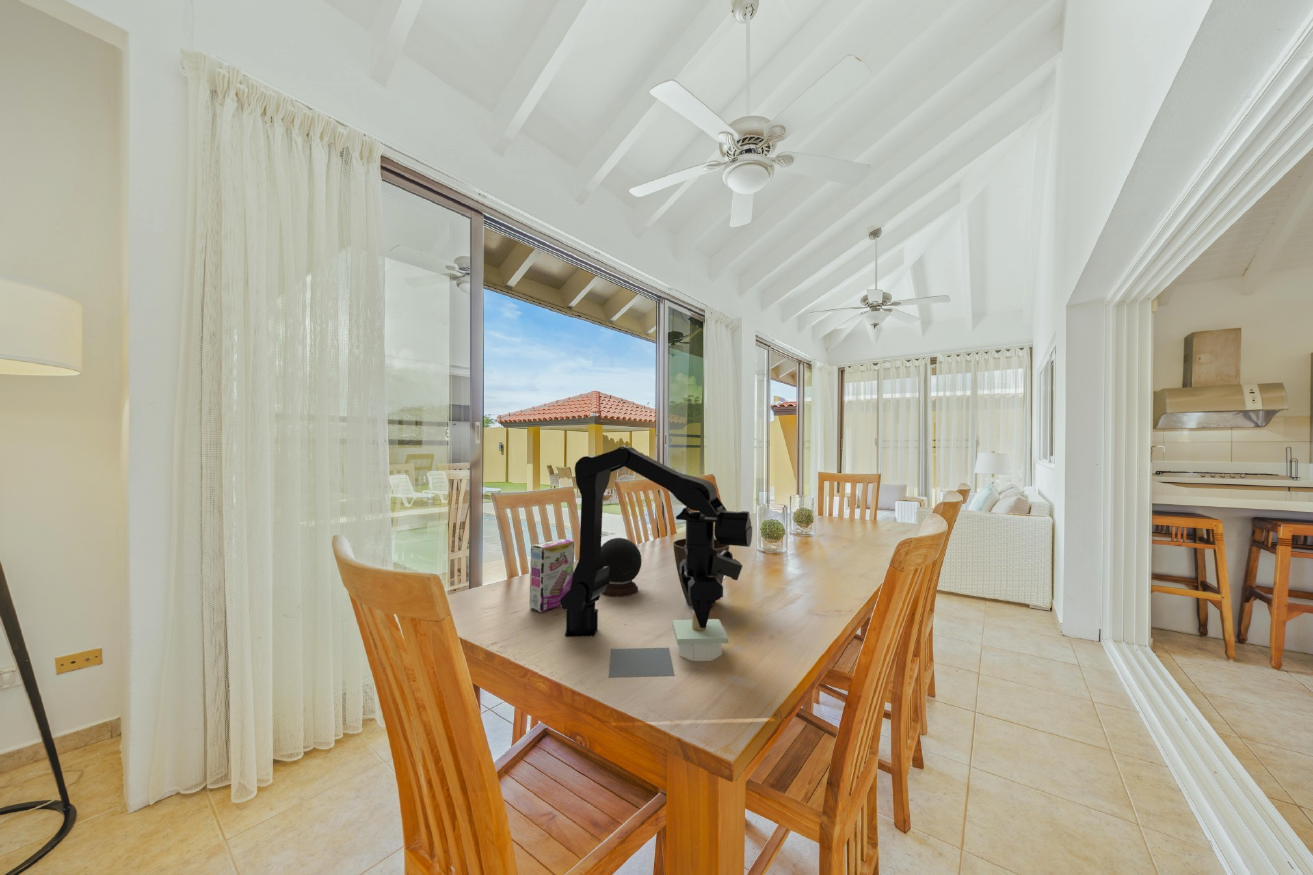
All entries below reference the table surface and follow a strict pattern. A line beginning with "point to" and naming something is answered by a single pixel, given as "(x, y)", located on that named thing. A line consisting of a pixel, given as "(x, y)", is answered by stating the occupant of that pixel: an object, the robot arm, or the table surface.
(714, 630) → the lid
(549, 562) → the candy bar box
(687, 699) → the table surface
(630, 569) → the black ball on stand
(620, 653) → the mat
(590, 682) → the table surface
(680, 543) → the plant pot
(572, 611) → the robot arm
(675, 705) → the table surface
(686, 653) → the bowl
